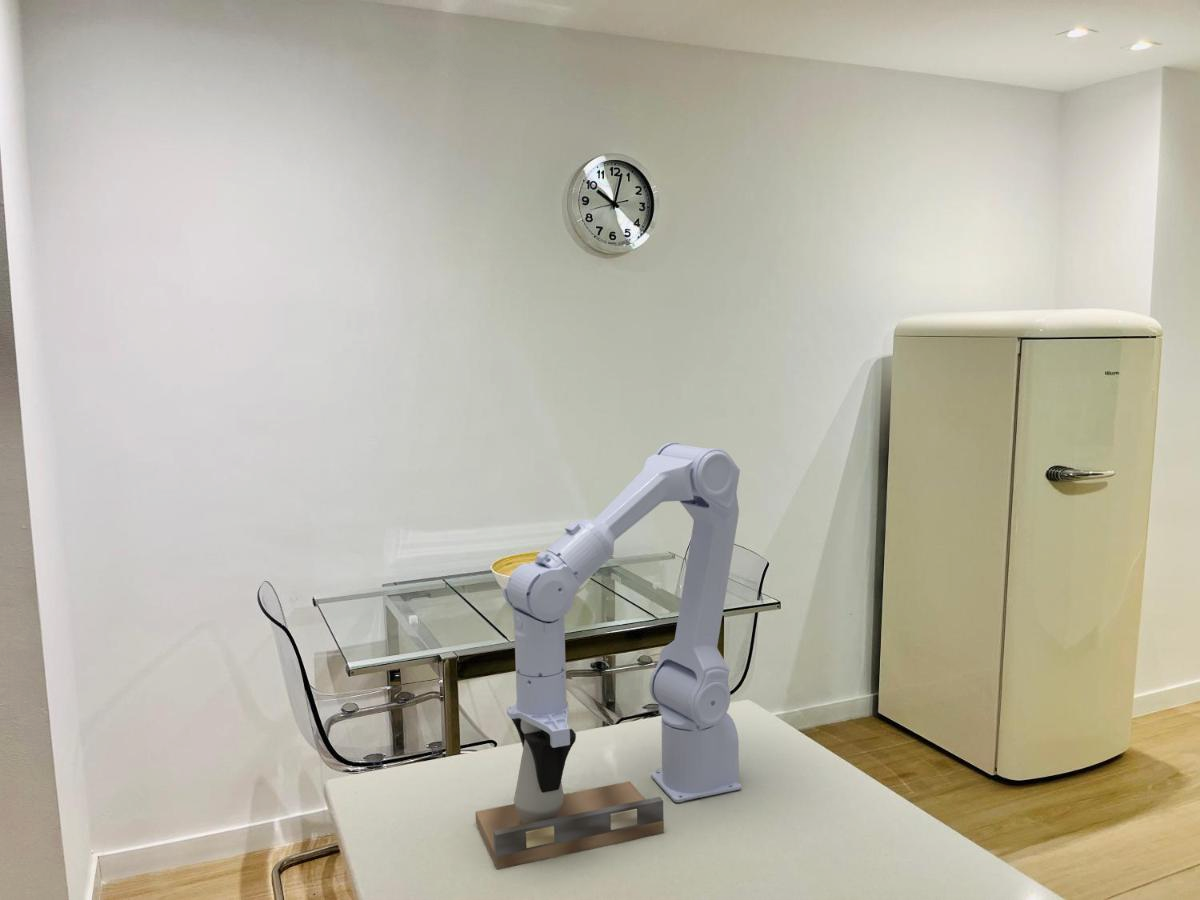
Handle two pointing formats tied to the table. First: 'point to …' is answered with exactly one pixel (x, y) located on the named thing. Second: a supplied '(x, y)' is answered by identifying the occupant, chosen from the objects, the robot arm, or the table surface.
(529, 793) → the salt shaker
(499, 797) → the table surface
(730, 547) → the robot arm
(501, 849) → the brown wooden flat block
